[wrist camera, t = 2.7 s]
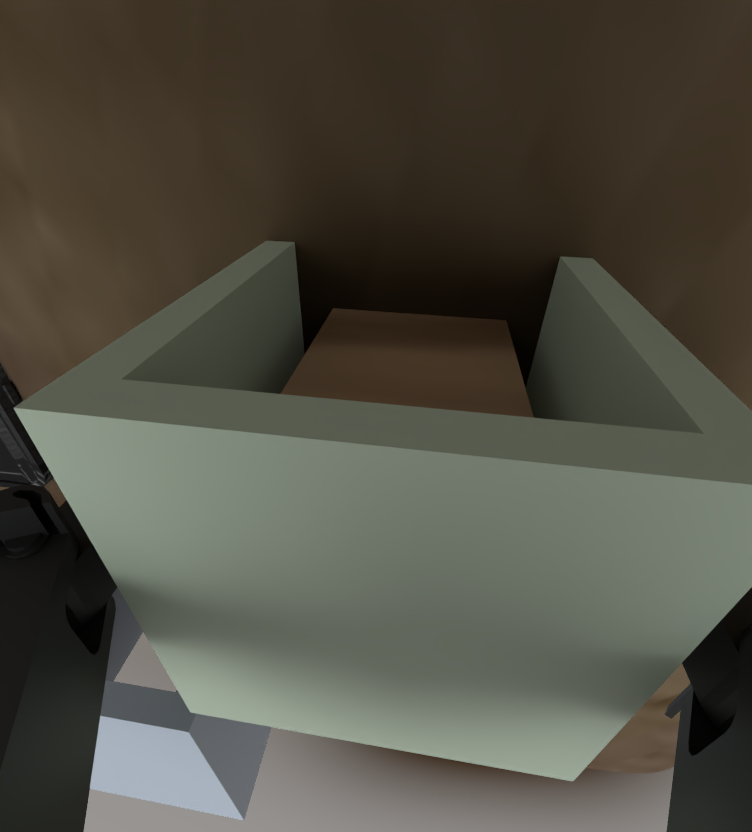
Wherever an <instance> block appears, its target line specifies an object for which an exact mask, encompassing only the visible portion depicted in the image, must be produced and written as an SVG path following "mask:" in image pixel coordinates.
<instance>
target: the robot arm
mask: <svg viewBox="0 0 752 832" xmlns="http://www.w3.org/2000/svg"><path fill="white" fill-rule="evenodd" d="M116 589H117V585H116V584H115V582H114V580H113V579H112V577H111V575H110V573H109V572H108V570H107V568H106V567H105V565H104V563H103V561H102V560H101V558H100V556H99V554H98V553H97V551H96V549H95V548H94V546H93V544H92V542H91V541H90V539H89V537H88V536H87V534H86V532H85V530H84V529H83V527H82V525H81V524H80V522H79V520H78V518H77V517H76V515H75V513H74V512H73V510H72V508H71V506H70V505H69V503H68V501H67V500H66V501H65V502H64V503H63V504H62V505H61V506H60V507H58V506H57V504H56V502H55V501H54V499H53V497H52V496H51V494H50V493H49V492H48V491H47V490H46V489H45V488H44V487H41V486H37V485H21V486H15V487H11V488H8V489H5V490H1V491H0V832H83V830H84V824H85V817H86V810H87V803H88V796H89V790H90V783H91V776H92V769H93V762H94V755H95V749H96V742H97V735H98V728H99V721H100V714H101V708H102V701H103V694H104V687H105V680H106V674H107V667H108V660H109V653H110V646H111V639H112V633H113V626H114V619H115V612H116V606H115V600H114V598H113V596H112V594H113V593H114V591H115V590H116ZM682 664H683V666H684V668H685V671H686V673H687V675H688V678H689V680H690V682H691V684H690V685H689V686H688V687H687V688H686V689H685V690H684V691H683V692H682V693H681V694H680V695H679V696H678V697H677V698H676V699H675V700H674V701H673V702H672V703H671V704H670V705H669V706H668V709H667V711H666V713H665V715H666V716H668V717H670V718H671V719H672V718H673V717H674V716H675V715H676V714H677V713H678V712H679V711H680V710H681V713H680V722H679V730H678V739H677V748H676V756H675V765H674V774H673V783H672V791H671V799H670V808H669V817H668V825H667V832H752V587H751V588H750V589H749V590H748V592H747V593H746V594H745V595H744V596H743V597H742V598H741V599H740V600H739V601H738V602H737V604H736V605H735V606H734V607H733V608H732V609H731V610H730V611H729V612H728V613H727V614H726V615H725V617H724V618H723V619H722V620H721V621H720V622H719V623H718V624H717V625H716V626H715V627H714V629H713V630H712V631H711V632H710V633H709V634H708V635H707V636H706V637H705V638H704V639H703V641H702V642H701V643H700V644H699V645H698V646H697V647H696V648H695V649H694V650H693V651H692V652H691V654H690V655H689V656H688V657H687V658H686V659H685V660H684V661H683V662H682Z"/></svg>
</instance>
